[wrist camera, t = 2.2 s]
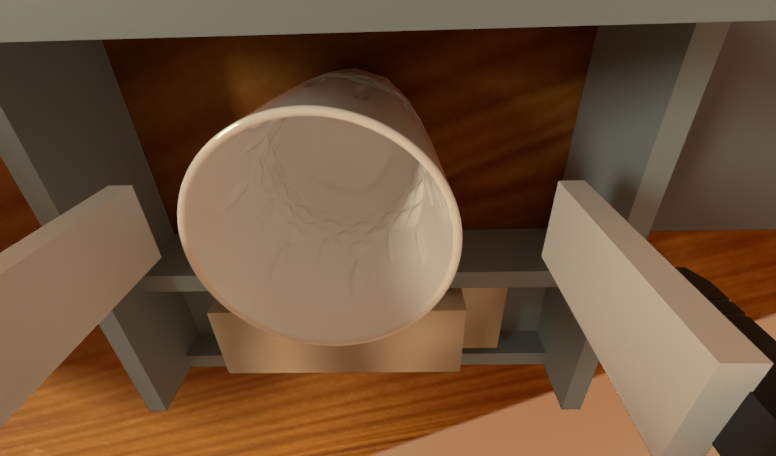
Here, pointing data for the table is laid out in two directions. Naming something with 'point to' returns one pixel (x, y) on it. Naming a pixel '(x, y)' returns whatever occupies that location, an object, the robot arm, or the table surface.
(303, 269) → the white cup
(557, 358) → the rack
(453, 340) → the upper offcut
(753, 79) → the mat
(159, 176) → the table surface
